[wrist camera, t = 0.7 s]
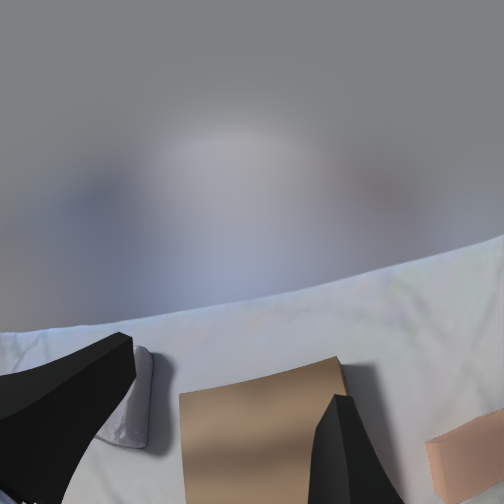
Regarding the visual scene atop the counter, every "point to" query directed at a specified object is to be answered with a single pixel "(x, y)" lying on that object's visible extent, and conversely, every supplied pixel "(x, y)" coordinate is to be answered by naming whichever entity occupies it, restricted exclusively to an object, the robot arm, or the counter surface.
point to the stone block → (132, 408)
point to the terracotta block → (468, 458)
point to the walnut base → (256, 436)
